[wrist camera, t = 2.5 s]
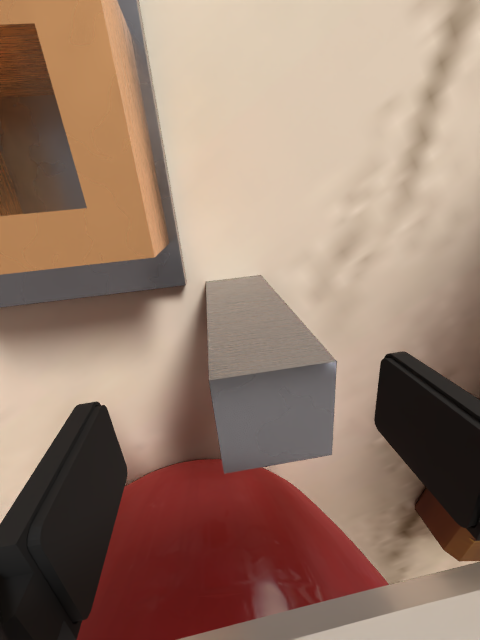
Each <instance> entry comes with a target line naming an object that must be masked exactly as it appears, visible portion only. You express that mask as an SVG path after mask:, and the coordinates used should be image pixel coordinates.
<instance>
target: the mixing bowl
mask: <svg viewBox="0 0 480 640" xmlns="http://www.w3.org/2000/svg"><path fill="white" fill-rule="evenodd" d="M386 585H389V584H388V583H387V582H386V580H385V579H384V578H383V577H382V575H381V574H380V573H379V572H378V571H377V570H376V568H375V567H374V566H373V565H372V564H371V563H370V561H369V560H368V559H367V558H366V557H365V556H364V554H363V553H362V552H361V551H360V550H359V549H358V548H357V547H356V546H355V544H354V543H353V542H352V541H351V540H350V539H349V538H348V537H347V536H346V535H345V534H344V533H343V532H342V530H341V529H340V528H339V527H338V526H337V525H336V524H335V523H334V522H333V521H332V520H331V519H330V518H329V517H327V516H326V515H325V514H324V513H323V512H322V511H321V510H320V509H319V508H318V507H317V506H316V505H315V504H314V503H313V502H312V501H311V500H310V499H309V498H308V497H307V496H306V495H304V494H303V493H302V492H301V491H300V490H298V489H297V488H296V487H295V486H294V485H292V484H291V483H289V482H288V481H287V480H285V479H283V478H281V477H279V476H278V475H276V474H274V473H272V472H270V471H269V470H266V469H264V468H261V467H260V468H254V469H249V470H243V471H237V472H232V473H226V474H224V471H223V465H222V459H202V460H194V461H187V462H182V463H177V464H173V465H170V466H167V467H165V468H162V469H159V470H156V471H153V472H151V473H149V474H147V475H145V476H143V477H141V478H140V479H138V480H136V481H134V482H132V483H131V484H129V485H127V486H125V487H124V491H123V494H122V498H121V502H120V506H119V509H118V513H117V517H116V520H115V524H114V528H113V532H112V535H111V539H110V543H109V546H108V550H107V554H106V558H105V561H104V565H103V569H102V572H101V576H100V580H99V584H98V587H97V591H96V595H95V598H94V602H93V606H92V609H91V612H90V614H89V616H88V618H87V619H85V620H82V623H81V626H80V630H79V633H78V637H77V640H177V639H181V638H185V637H189V636H193V635H197V634H200V633H204V632H208V631H212V630H216V629H219V628H223V627H227V626H231V625H235V624H238V623H242V622H246V621H250V620H254V619H257V618H261V617H265V616H269V615H273V614H277V613H280V612H284V611H288V610H292V609H296V608H300V607H304V606H308V605H312V604H315V603H319V602H323V601H327V600H331V599H335V598H339V597H343V596H347V595H351V594H354V593H358V592H362V591H366V590H370V589H374V588H378V587H382V586H386Z"/></svg>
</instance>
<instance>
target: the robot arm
mask: <svg viewBox="0 0 480 640" xmlns="http://www.w3.org/2000/svg"><path fill="white" fill-rule="evenodd" d="M375 425H376V427H377V429H378V431H379V432H380V433H381V434H382V435H383V437H384V438H385V439H386V440H387V441H388V443H389V444H390V445H391V446H392V447H393V448H394V450H395V451H396V452H397V453H398V454H399V456H400V457H401V458H402V459H403V460H404V461H405V463H406V464H407V465H408V466H409V467H410V469H411V470H412V471H413V472H414V473H415V474H416V476H417V477H418V478H419V479H420V480H421V482H422V483H423V484H424V485H425V486H426V487H427V489H428V490H429V491H430V492H431V493H432V495H433V496H434V497H435V498H436V499H437V501H438V502H439V503H440V504H441V505H442V506H443V508H444V509H445V510H446V511H447V512H448V514H449V515H450V516H451V517H452V518H453V519H454V521H455V522H456V523H457V524H458V525H460V526H461V527H463V528H466V529H467V530H468V531H469V532H470V534H471V535H472V536H473V537H474V538H475V539H476V541H478V540H480V400H479V399H477V398H476V397H474V396H473V395H471V394H470V393H468V392H467V391H465V390H464V389H462V388H461V387H459V386H457V385H456V384H454V383H453V382H451V381H450V380H448V379H447V378H445V377H444V376H442V375H441V374H439V373H437V372H436V371H434V370H433V369H431V368H430V367H428V366H427V365H425V364H424V363H422V362H421V361H419V360H417V359H416V358H414V357H413V356H411V355H410V354H408V353H406V352H397V353H391V354H387V355H386V356H385V358H384V359H383V360H382V361H381V365H380V374H379V383H378V392H377V401H376V410H375ZM126 479H127V466H126V463H125V460H124V457H123V454H122V451H121V448H120V445H119V442H118V440H117V437H116V434H115V431H114V428H113V425H112V422H111V419H110V416H109V413H108V410H107V408H106V406H105V405H102V406H101V405H100V403H99V402H92V403H85V404H79V405H77V406H76V407H75V408H74V410H73V411H72V413H71V414H70V416H69V418H68V419H67V421H66V422H65V424H64V425H63V427H62V429H61V430H60V432H59V433H58V435H57V436H56V438H55V439H54V441H53V443H52V444H51V446H50V447H49V449H48V450H47V452H46V454H45V455H44V457H43V458H42V460H41V461H40V463H39V464H38V466H37V468H36V469H35V471H34V472H33V474H32V475H31V477H30V479H29V480H28V482H27V483H26V485H25V486H24V488H23V489H22V491H21V493H20V494H19V496H18V497H17V499H16V500H15V502H14V504H13V505H12V507H11V508H10V510H9V511H8V513H7V514H6V516H5V518H4V519H3V521H2V522H1V524H0V640H77V637H78V633H79V630H80V626H81V623H82V620H85V619H87V618H88V616H89V614H90V612H91V609H92V606H93V602H94V598H95V595H96V591H97V587H98V584H99V580H100V576H101V572H102V569H103V565H104V561H105V558H106V554H107V550H108V546H109V543H110V539H111V535H112V532H113V528H114V524H115V520H116V517H117V513H118V509H119V506H120V502H121V498H122V494H123V491H124V487H125V483H126ZM177 640H480V562H477V563H473V564H469V565H465V566H461V567H457V568H453V569H449V570H445V571H441V572H437V573H433V574H429V575H425V576H421V577H417V578H413V579H409V580H405V581H401V582H398V583H394V584H390V585H386V586H382V587H378V588H374V589H370V590H366V591H362V592H358V593H354V594H351V595H347V596H343V597H339V598H335V599H331V600H327V601H323V602H319V603H315V604H312V605H308V606H304V607H300V608H296V609H292V610H288V611H284V612H280V613H277V614H273V615H269V616H265V617H261V618H257V619H254V620H250V621H246V622H242V623H238V624H235V625H231V626H227V627H223V628H219V629H216V630H212V631H208V632H204V633H200V634H197V635H193V636H189V637H185V638H181V639H177Z"/></svg>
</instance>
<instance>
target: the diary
mask: <svg viewBox="0 0 480 640" xmlns="http://www.w3.org/2000/svg"><path fill="white" fill-rule="evenodd" d="M415 510H416V511H417V513H418V514H419V516H420V517H421V518H422V520H423V521H424V523H425V524H426V526H427V527H428V528H429V530H430V531H431V533H432V534H433V535H434V537H435V538H436V540H437V541H438V543H439V544H440V545H441V547H442V548H443V550H444V551H446V552H447V553H449V554H450V555H451V556H453V557H454V558H455V559H457V560H458V561H480V540H478V541H476V539H475V538H474V537H473V536H472V535H471V534H470V532H469V531H468V530H467V529H466V528H463V527H461V526H460V525H458V524H457V523H456V522H455V521H454V519H453V518H452V517H451V516H450V515H449V514H448V512H447V511H446V510H445V509H444V508H443V506H442V505H441V504H440V503H439V502H438V501H437V499H436V498H435V497H434V496H433V495H432V493H431V492H430V491H429V490H428V489H427V487H426V489H425V491H424V492H423V494H422V495H421V497H420V499H419V500H418V502H417V503H416V505H415Z"/></svg>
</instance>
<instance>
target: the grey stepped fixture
mask: <svg viewBox="0 0 480 640" xmlns="http://www.w3.org/2000/svg"><path fill="white" fill-rule="evenodd" d="M186 282H187V280H186V275H185V269H184V263H183V257H182V251H181V245H180V239H179V234H178V228H177V222H176V216H175V210H174V204H173V198H172V193H171V187H170V181H169V175H168V169H167V163H166V157H165V152H164V146H163V140H162V134H161V128H160V122H159V116H158V110H157V105H156V99H155V93H154V87H153V81H152V75H151V69H150V64H149V58H148V52H147V46H146V40H145V34H144V28H143V23H142V17H141V11H140V5H139V0H0V307H8V306H16V305H24V304H33V303H41V302H49V301H58V300H66V299H74V298H83V297H91V296H99V295H108V294H116V293H124V292H133V291H141V290H149V289H158V288H166V287H174V286H183V285H186Z"/></svg>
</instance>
